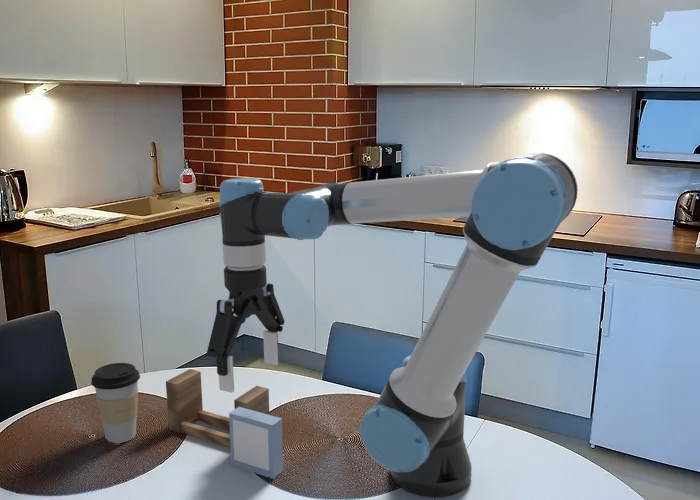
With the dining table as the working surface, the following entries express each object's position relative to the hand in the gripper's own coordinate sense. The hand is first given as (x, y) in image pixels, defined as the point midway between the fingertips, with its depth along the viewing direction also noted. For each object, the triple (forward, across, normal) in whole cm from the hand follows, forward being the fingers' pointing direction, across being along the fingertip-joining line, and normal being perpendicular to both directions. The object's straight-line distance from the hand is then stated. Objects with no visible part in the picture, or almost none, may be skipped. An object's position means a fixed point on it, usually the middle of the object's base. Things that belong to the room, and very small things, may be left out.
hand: (250, 376), depth 120 cm
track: (+18, -7, -14) cm, 24 cm away
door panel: (+19, 0, +1) cm, 19 cm away
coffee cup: (+18, +4, -31) cm, 37 cm away
